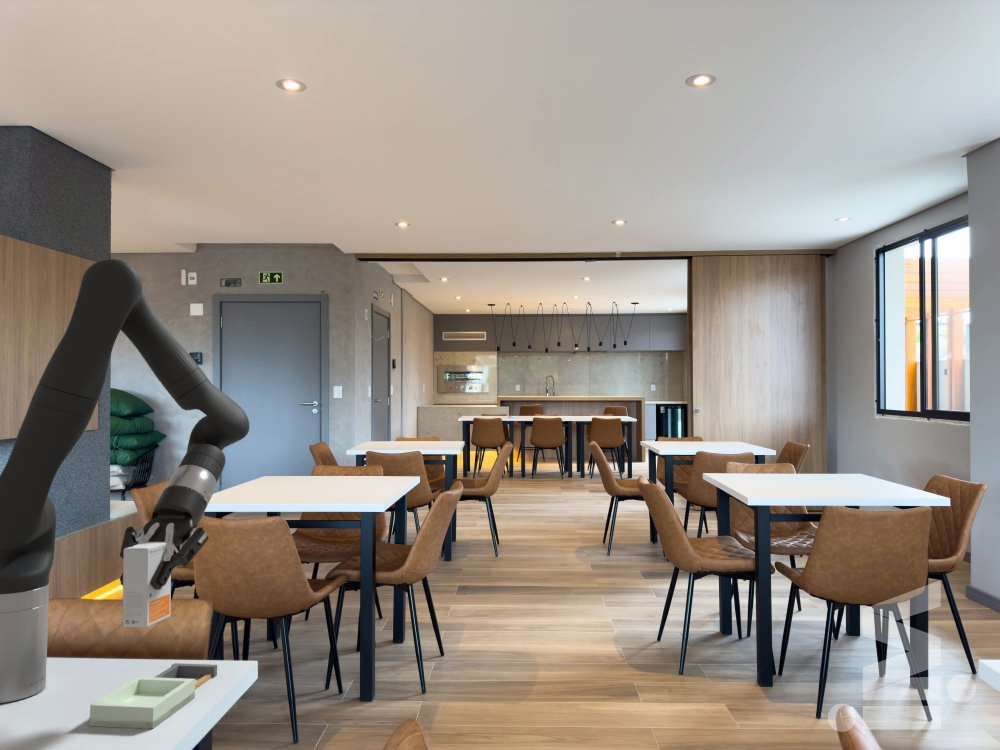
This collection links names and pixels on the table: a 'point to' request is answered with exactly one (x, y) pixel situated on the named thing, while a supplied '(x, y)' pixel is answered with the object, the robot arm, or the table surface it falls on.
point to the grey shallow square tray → (190, 672)
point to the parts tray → (142, 702)
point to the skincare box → (144, 586)
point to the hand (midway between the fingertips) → (140, 586)
